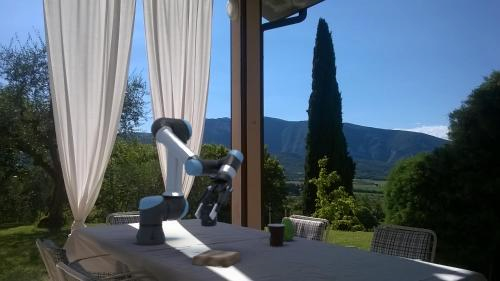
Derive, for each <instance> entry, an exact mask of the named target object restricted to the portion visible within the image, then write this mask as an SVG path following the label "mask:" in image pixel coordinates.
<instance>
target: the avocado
mask: <svg viewBox="0 0 500 281" xmlns="http://www.w3.org/2000/svg"><path fill="white" fill-rule="evenodd" d="M281 224H283V225H285V230H284V239H283V241H287V242H289V241H291V240H293V239H294V237H295V233H296V230H295V226H294V224H293V221H292V219H291V218H289V217H284V218H283V219H282V221H281Z"/></svg>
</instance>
